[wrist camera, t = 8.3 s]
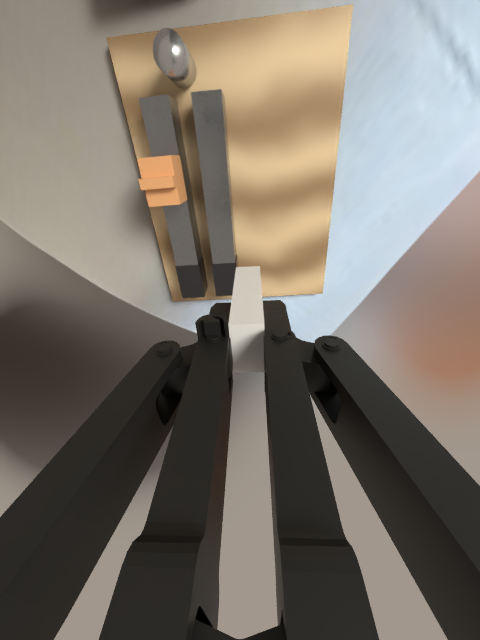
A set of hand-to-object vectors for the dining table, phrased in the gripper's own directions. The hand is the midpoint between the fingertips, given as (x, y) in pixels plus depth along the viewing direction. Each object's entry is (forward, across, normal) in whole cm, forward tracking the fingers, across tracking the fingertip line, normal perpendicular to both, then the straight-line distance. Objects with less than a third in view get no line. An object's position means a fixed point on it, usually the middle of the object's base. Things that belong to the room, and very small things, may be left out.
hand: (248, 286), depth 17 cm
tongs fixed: (+15, -6, +4) cm, 17 cm away
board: (+16, -1, +4) cm, 17 cm away
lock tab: (+12, -7, +6) cm, 15 cm away
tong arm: (+15, -3, +3) cm, 15 cm away
